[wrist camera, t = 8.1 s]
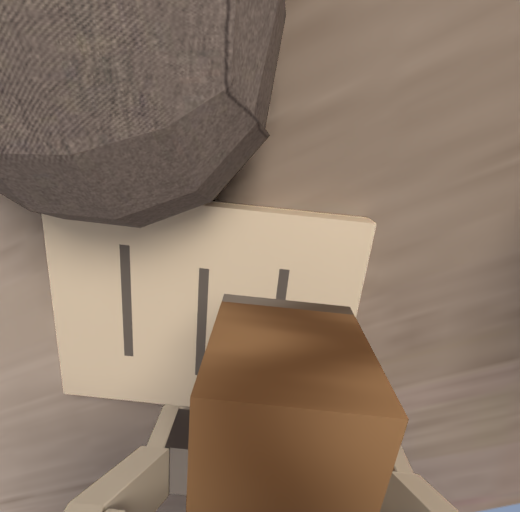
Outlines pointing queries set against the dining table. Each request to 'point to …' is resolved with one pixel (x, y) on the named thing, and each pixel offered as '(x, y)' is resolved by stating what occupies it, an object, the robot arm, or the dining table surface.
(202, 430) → the block
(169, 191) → the grey rounded bag
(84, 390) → the board
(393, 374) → the dining table surface
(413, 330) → the dining table surface
